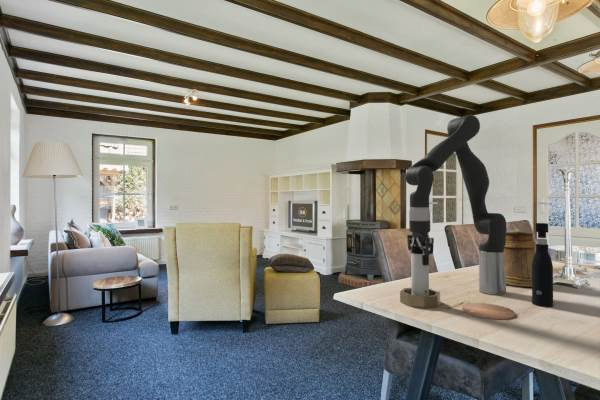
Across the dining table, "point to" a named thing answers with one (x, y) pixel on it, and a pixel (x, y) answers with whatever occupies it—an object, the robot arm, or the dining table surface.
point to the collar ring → (420, 299)
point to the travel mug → (419, 273)
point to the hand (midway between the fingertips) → (420, 263)
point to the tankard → (519, 257)
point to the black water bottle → (542, 270)
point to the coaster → (488, 311)
